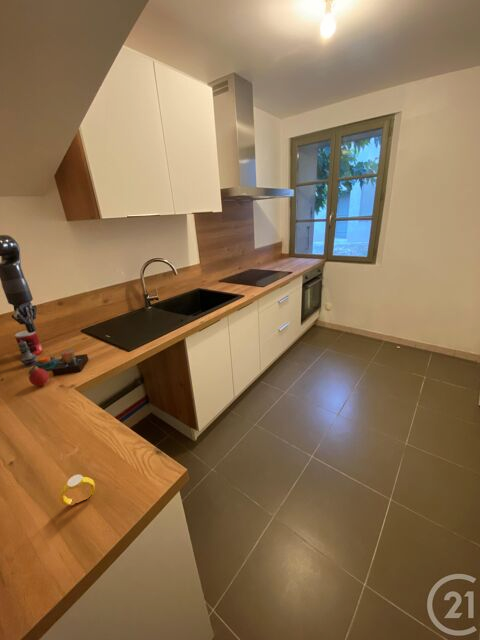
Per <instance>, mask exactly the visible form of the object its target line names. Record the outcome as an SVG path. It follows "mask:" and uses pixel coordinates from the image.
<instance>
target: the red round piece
mask: <svg viewBox="0 0 480 640" xmlns="http://www.w3.org/2000/svg"><path fill="white" fill-rule="evenodd" d="M49 379H50V374H49V371H46V370H44V369H39V368H38V367H35V368H34V370H33V371H32V372H31V374H30V373H29V376H28V380H29V382H30V384H32V385H33V386H37V387H39V386H40V387H41V386H42V387H43V386H44V385H45V384H47V382H48V381H49Z"/></svg>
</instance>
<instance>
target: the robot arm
mask: <svg viewBox="0 0 480 640" xmlns="http://www.w3.org/2000/svg"><path fill="white" fill-rule="evenodd" d="M20 249H21V248H20V246H19V243H18V242H17V241H16V239H15V238H14V237H12V236H11V235H9V234H8V235H7V234H0V259H1V260H0V284H1V287H2V290H3V293H4V296H5V298H6V300H7V304H9V305H12V306H13V311H14V314H11V319H13V320H14V321H15V322H17V323H18V324H19V325H24V326H25V329H26V330H27V331H28V333H33V332H37V331H36V329H37V328H36V327H35V323H34V322H35V320H37V319H36V318H37V305H33V304H32V301H33V300H34V298H33V295H32V292H31V289H30V286H29V284H28V281H27V280H26V278H25V274H24V271H23V269H22V266H21V264H22V263H21V250H20Z"/></svg>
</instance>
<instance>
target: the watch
mask: <svg viewBox="0 0 480 640" xmlns="http://www.w3.org/2000/svg"><path fill="white" fill-rule="evenodd" d="M82 484H86V485H89V486H91V490H90V491H91V495H92V496H93V495H94V493H95V490H96V483H95V481H94V480H93V479H92V478H90V477H88V476H83V475H82V474H74V475H72V476H71V477H70V478H69V479H68V481H67V482H66V483H65V484H64V486H63V487H62V489H61V492H60V493H61V494H60V499H61V502H62V504H64V505H66V506H71V505H70V504H71V502H72V499H73V498H68V497H67V496H66V495H65V494H66V492H67V491H68V490H69V489H71V490H73V489H76V488H78V487H80V486H81V485H82ZM91 495H90V496H91ZM92 496H91V497H92Z"/></svg>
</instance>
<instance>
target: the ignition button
mask: <svg viewBox="0 0 480 640" xmlns="http://www.w3.org/2000/svg"><path fill="white" fill-rule="evenodd" d="M50 357H51V356H49V355H45V356H42V357H40V358H39V360H40V363H46V362H49V361H50V360H51V359H50ZM39 360H38V361H39Z"/></svg>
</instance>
